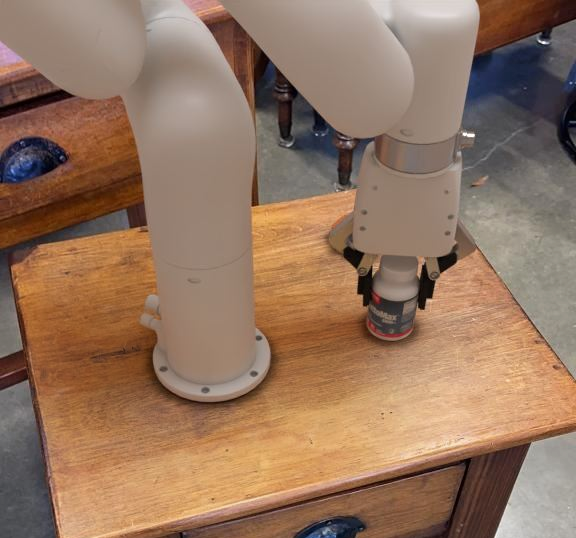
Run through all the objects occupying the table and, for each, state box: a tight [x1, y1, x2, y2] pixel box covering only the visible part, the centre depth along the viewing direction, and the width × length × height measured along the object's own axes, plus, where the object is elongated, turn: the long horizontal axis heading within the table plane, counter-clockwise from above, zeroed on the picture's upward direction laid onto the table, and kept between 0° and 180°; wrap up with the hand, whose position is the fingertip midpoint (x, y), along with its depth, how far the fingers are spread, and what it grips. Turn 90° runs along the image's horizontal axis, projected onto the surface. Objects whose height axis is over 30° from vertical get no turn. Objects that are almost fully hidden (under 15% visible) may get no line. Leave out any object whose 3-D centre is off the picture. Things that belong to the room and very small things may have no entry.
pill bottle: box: [366, 255, 420, 342], centre depth 90 cm, size 5×5×9 cm
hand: (393, 298), depth 90 cm, fingers closed on pill bottle, 5 cm apart
